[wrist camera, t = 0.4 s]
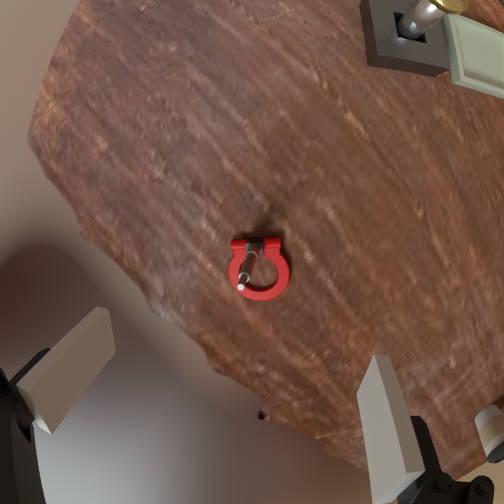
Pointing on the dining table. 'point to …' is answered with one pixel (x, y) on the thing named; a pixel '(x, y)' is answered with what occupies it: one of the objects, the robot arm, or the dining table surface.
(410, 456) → the robot arm
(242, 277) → the tow hook
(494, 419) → the coffee cup
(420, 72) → the hitch block
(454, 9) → the pin
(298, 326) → the dining table surface
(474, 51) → the tray
